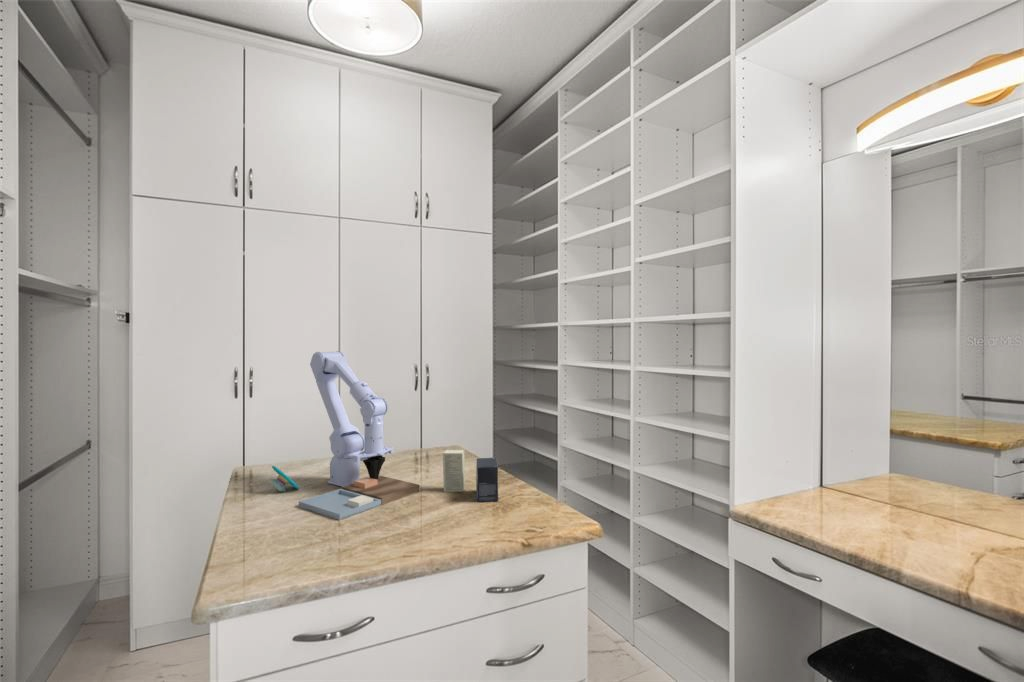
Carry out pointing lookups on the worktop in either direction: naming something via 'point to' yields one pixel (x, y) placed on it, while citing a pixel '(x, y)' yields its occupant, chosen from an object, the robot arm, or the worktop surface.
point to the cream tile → (359, 501)
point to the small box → (487, 480)
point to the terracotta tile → (365, 482)
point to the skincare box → (454, 470)
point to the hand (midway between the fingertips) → (373, 480)
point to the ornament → (282, 480)
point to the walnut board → (386, 489)
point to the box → (336, 504)
